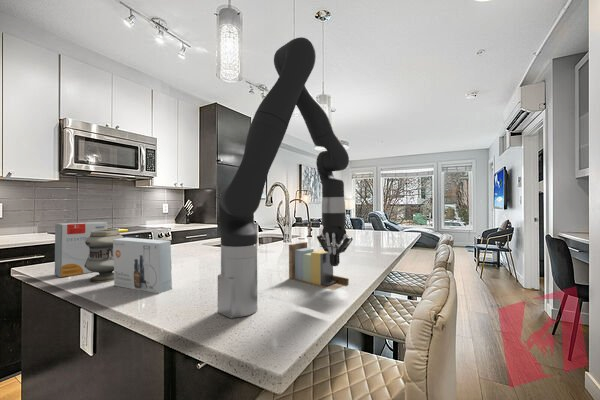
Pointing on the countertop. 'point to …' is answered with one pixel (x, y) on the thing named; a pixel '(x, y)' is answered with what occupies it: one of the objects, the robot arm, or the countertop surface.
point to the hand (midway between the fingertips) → (334, 265)
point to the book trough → (341, 281)
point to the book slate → (300, 261)
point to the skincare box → (142, 264)
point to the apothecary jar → (102, 254)
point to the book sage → (307, 267)
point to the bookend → (326, 270)
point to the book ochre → (316, 267)
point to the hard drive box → (73, 247)
